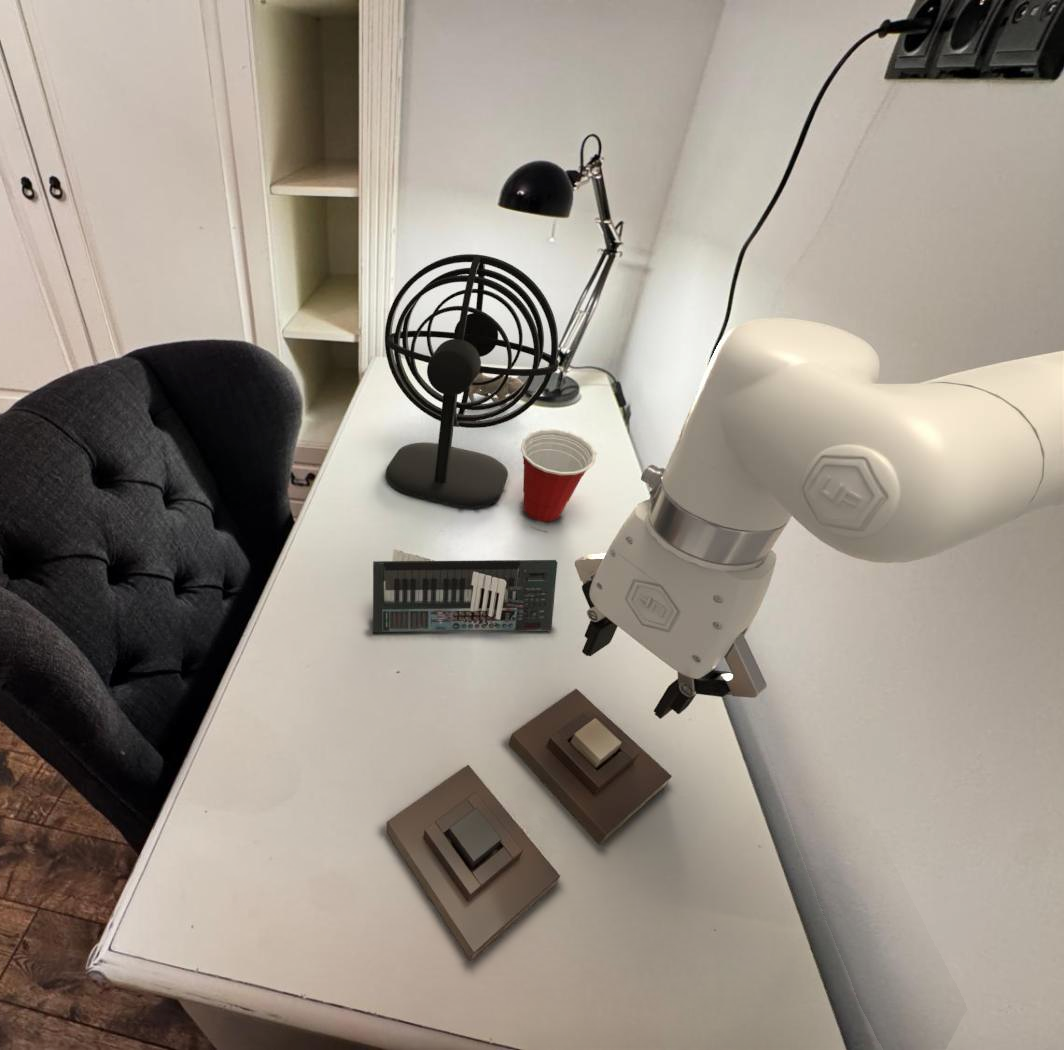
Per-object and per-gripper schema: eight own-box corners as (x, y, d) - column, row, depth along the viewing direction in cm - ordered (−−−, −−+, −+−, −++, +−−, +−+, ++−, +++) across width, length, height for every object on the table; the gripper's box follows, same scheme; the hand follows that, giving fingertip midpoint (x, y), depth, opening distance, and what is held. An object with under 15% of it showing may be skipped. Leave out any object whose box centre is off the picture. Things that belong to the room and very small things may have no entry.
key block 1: (555, 884, 51) (565, 868, 48) (470, 961, 46) (477, 947, 44) (465, 774, 58) (470, 755, 56) (385, 831, 54) (387, 812, 51)
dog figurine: (463, 405, 118) (468, 371, 113) (467, 392, 122) (472, 360, 118) (522, 413, 116) (529, 379, 111) (524, 400, 120) (531, 367, 115)
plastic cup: (508, 529, 88) (523, 465, 80) (506, 488, 96) (519, 426, 88) (581, 536, 87) (602, 472, 79) (572, 494, 95) (591, 432, 87)
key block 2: (664, 786, 57) (678, 767, 55) (599, 845, 53) (611, 827, 51) (571, 699, 65) (580, 678, 62) (508, 744, 61) (514, 724, 58)
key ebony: (498, 847, 50) (502, 838, 48) (471, 869, 48) (473, 861, 47) (474, 815, 52) (476, 806, 51) (447, 835, 50) (449, 827, 49)
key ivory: (616, 751, 56) (622, 742, 55) (595, 768, 55) (600, 759, 54) (590, 726, 58) (595, 717, 57) (569, 742, 57) (574, 733, 56)
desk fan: (536, 466, 101) (586, 256, 79) (516, 524, 89) (569, 294, 66) (393, 434, 109) (402, 235, 87) (357, 484, 97) (356, 267, 74)
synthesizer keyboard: (559, 555, 70) (555, 589, 62) (551, 625, 74) (547, 667, 65) (392, 537, 78) (367, 565, 69) (392, 601, 81) (368, 636, 72)
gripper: (571, 471, 41) (525, 629, 53) (825, 626, 30) (697, 783, 42) (636, 441, 45) (579, 596, 56) (887, 572, 34) (752, 731, 45)
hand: (630, 675), depth 49 cm, fingers open, 6 cm apart
